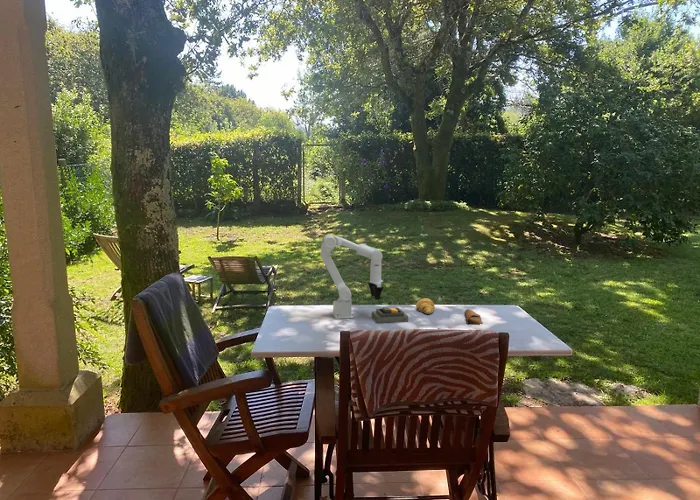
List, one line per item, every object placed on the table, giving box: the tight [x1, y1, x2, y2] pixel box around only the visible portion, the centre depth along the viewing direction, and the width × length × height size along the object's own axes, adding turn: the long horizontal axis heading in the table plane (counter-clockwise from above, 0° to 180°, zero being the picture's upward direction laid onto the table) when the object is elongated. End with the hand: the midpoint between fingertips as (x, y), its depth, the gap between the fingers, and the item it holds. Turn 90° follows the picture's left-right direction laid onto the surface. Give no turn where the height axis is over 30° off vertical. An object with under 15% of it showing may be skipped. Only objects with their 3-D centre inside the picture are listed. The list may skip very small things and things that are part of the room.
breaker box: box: [371, 307, 409, 324], centre depth 273 cm, size 16×12×4 cm
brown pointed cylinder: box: [464, 309, 484, 326], centre depth 274 cm, size 18×7×7 cm
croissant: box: [415, 297, 436, 315], centre depth 291 cm, size 21×10×8 cm, turn 3°
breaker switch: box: [381, 306, 398, 313], centre depth 272 cm, size 7×5×2 cm
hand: (375, 297), depth 277 cm, fingers open, 7 cm apart
